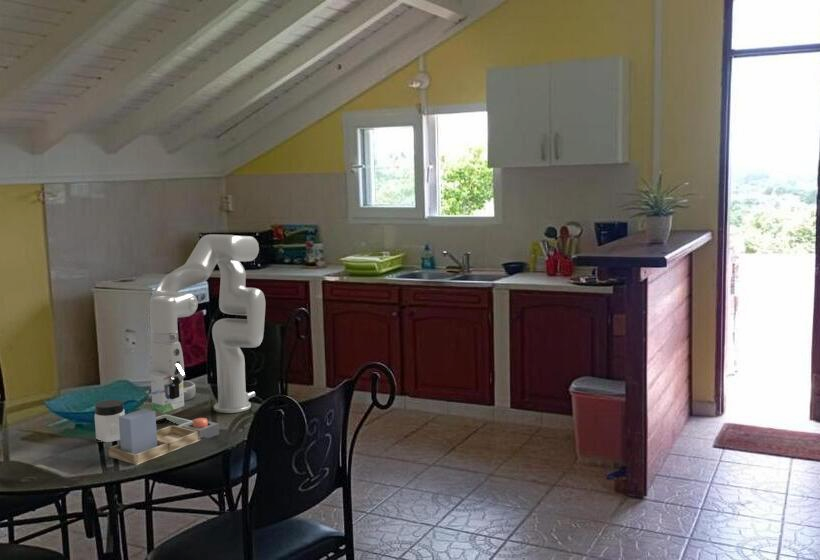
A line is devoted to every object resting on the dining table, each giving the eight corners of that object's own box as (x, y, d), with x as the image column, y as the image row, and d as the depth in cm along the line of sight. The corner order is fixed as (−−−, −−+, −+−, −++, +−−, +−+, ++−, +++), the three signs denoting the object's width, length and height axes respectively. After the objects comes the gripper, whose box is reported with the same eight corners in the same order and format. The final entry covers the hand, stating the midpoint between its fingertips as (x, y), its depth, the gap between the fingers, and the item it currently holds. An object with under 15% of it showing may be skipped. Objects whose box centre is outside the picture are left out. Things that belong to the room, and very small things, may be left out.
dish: (190, 403, 296) (189, 389, 296) (151, 403, 297) (150, 390, 296) (200, 391, 311) (200, 378, 310) (163, 392, 311) (163, 379, 310)
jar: (99, 447, 252) (97, 409, 250) (93, 440, 259) (90, 402, 257) (129, 441, 257) (127, 404, 255) (122, 434, 263) (120, 397, 262)
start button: (200, 429, 265) (200, 417, 264) (210, 431, 262) (210, 419, 262) (190, 433, 261) (189, 420, 260) (200, 435, 259) (199, 423, 258)
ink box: (173, 404, 256) (171, 366, 254) (185, 406, 253) (183, 368, 252) (151, 411, 249) (149, 372, 247) (163, 414, 246) (161, 375, 244)
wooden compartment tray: (172, 436, 262) (171, 424, 261) (201, 443, 255) (200, 431, 254) (107, 459, 242) (106, 447, 241) (137, 468, 235) (136, 456, 234)
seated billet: (146, 447, 248) (144, 408, 247) (157, 450, 246) (155, 411, 244) (121, 456, 241) (118, 416, 239) (132, 459, 238) (130, 419, 236)
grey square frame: (201, 429, 267) (200, 419, 267) (219, 434, 263) (218, 423, 263) (182, 437, 261) (181, 426, 260) (200, 441, 256) (199, 430, 256)
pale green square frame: (165, 419, 278) (165, 414, 277) (194, 426, 270) (193, 420, 270) (132, 431, 266) (131, 425, 266) (160, 439, 259) (160, 432, 259)
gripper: (194, 338, 247) (197, 397, 249) (155, 332, 256) (158, 389, 258) (175, 343, 240) (177, 404, 243) (135, 336, 250) (139, 395, 252)
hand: (168, 396), depth 251 cm, fingers closed on ink box, 5 cm apart
